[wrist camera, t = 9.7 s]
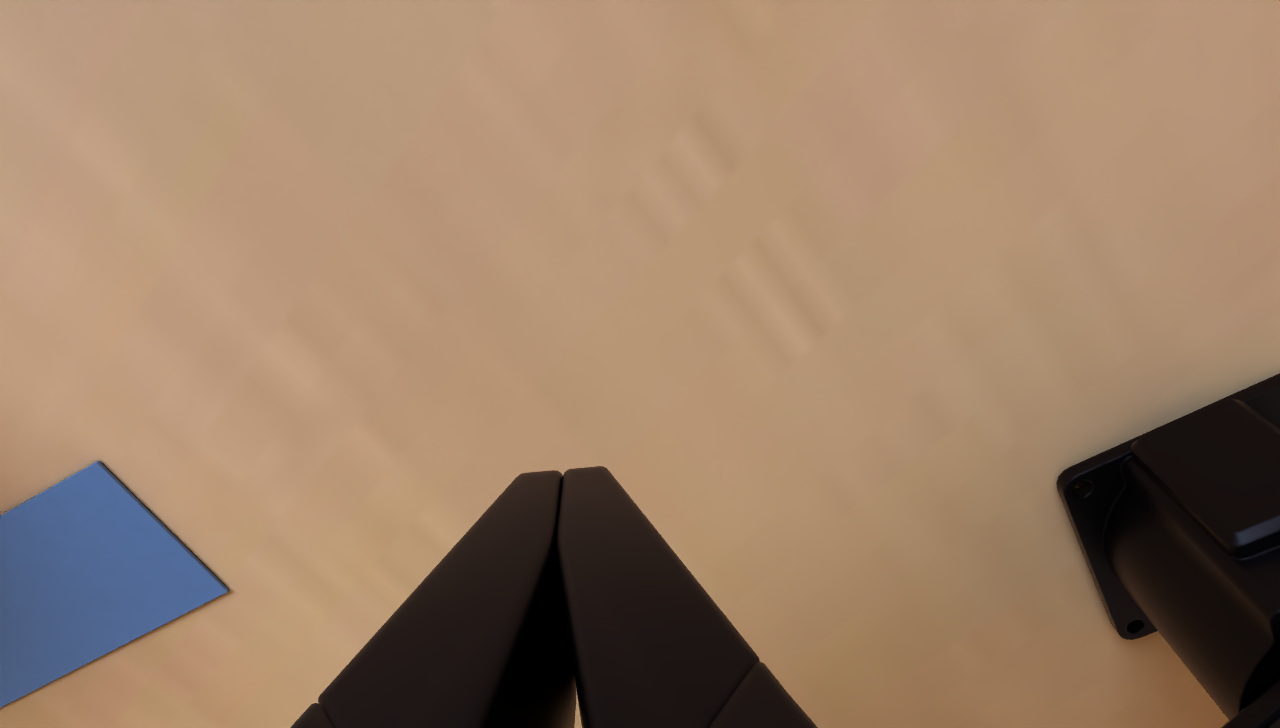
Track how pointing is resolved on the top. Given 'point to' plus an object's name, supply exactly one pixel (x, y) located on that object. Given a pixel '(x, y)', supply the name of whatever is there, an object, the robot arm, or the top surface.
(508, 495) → the robot arm
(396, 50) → the top surface
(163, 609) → the tape strip
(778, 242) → the top surface
